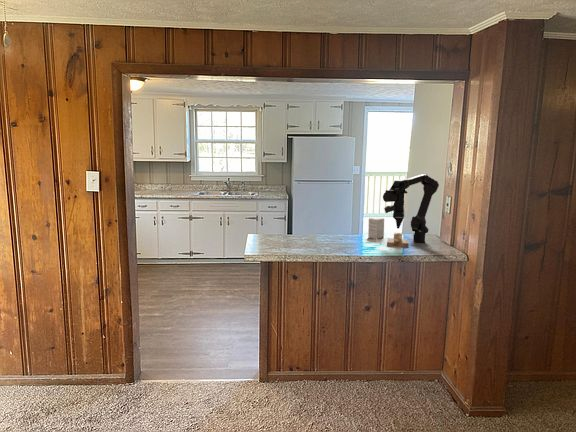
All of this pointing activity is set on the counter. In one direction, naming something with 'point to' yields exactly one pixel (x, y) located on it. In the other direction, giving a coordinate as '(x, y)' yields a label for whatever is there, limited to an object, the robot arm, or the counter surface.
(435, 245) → the counter surface
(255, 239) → the counter surface
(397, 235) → the maple cube
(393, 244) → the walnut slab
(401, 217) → the robot arm
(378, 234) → the supplement box
